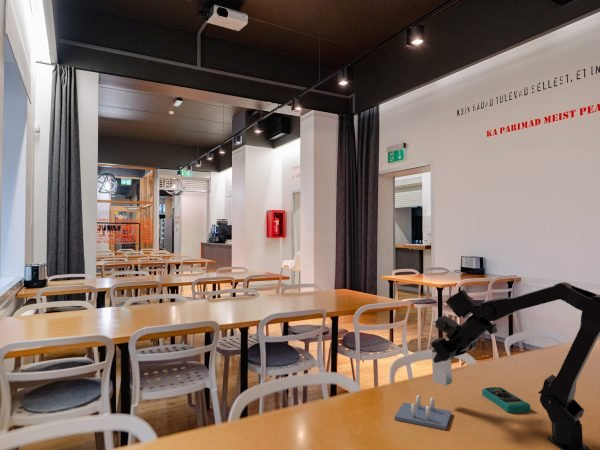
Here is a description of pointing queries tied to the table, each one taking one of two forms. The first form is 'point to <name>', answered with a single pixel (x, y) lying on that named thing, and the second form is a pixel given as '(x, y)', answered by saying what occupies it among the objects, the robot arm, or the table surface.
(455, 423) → the table surface
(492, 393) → the digital multimeter
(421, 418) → the grey pegged base
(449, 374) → the plate
